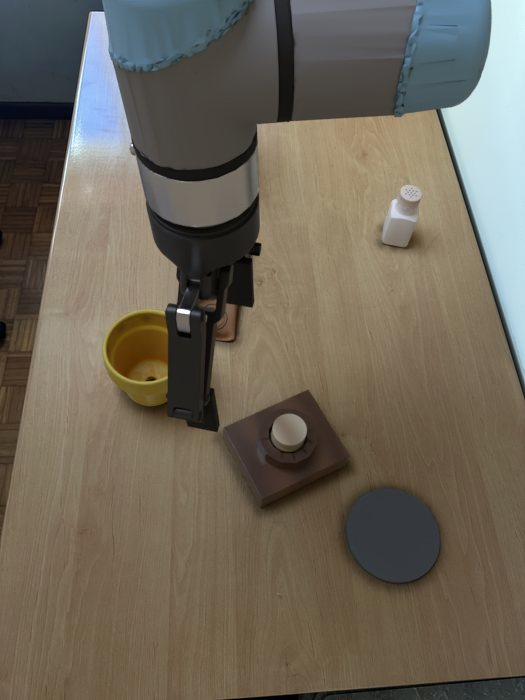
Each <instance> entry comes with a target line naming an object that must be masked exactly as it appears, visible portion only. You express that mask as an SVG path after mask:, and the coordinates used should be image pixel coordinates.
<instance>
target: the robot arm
mask: <svg viewBox="0 0 525 700" xmlns="http://www.w3.org/2000/svg"><path fill="white" fill-rule="evenodd" d="M101 1H102V7H103V13H104V19H105V26H106V31H107V36H108V48H107V49H108V55H109V58H110V61H111V62H112V65H113V69H114V73H115V77H116V81H117V85H118V90H119V93H120V97H121V101H122V106H123V110H124V114H125V118H126V122H127V126H128V131H129V134H130V140H131V142H130V145H129V153H130V154H131V155H132V156H134V157H135V159H136V165H137V168H138V169H137V170H138V173H139V177H140V181H141V186H142V191H143V195H144V198H145V207H146V213H147V218H148V221H149V226H150V229H151V235H152V238H153V239H152V240H153V241H154V243H155V245H156V248H157V249H158V251H159V252H160V253H161V254H162V255H163V256H164V257H165V258H167V260H169V261H170V262H171V263H172V264H173V265H175V267H176V273H175V274H176V275H175V277H176V280H177V282H178V290H177V300H176V303H173V302H172V303H171V302H169V303H168V304H167V305H166V307H165V310H164V312H165V318H166V324H167V331H168V392H167V393H166V398H167V402H166V404H167V407H166V415H167V417H168V418H173V419H178V420H183V421H185V422H186V424H187V427H189V428H194V429H198V430H203V431H209V432H214V433H218V432H219V430H220V426H221V422H220V416H219V410H218V404H217V398H216V392H215V388H214V387H211V383H212V376H213V375H212V373H213V365H214V356H215V348H216V340H215V339H216V330H217V322H219V321H220V320H221V319H222V318H223V317H224V315H225V309H226V303H227V304H233V305H238V307H245V308H251V309H253V307H254V304H255V288H254V285H255V283H254V265H253V258H252V257H248V255H249V256H253V257H260V256H261V253H262V247H263V246H262V242H257V240H258V238H259V234H260V228H261V217H260V216H261V215H260V211H261V210H260V191H259V190H260V186H261V185H260V163H259V142H258V141H259V139H258V125H267V124H268V125H269V124H277V123H290V122H303V121H304V122H305V121H321V120H337V119H338V120H339V119H355V118H373V117H388V116H389V117H392V116H393V118H402V117H403V116H404V115H407V114H414V113H420V112H428V111H435V110H441V109H442V110H443V109H448V108H453V107H457V106H459V105H461V104H463V103H464V102H465V101H466V100H468V99H469V98H470V97H471V96H472V94H473V92H474V91H475V89H476V88H477V87H478V84H479V83H480V81H481V78H482V74H483V71H484V70H485V66H486V63H487V59H488V57H489V56H488V55H489V51H490V45H491V35H492V22H493V20H492V19H493V14H492V13H493V12H492V0H101ZM200 299H201V300H208V301H214V300H216V299H217V300H216V308H210V307H204V306H199V303H200Z"/></svg>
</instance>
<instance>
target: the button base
mask: <svg viewBox="0 0 525 700" xmlns="http://www.w3.org/2000/svg"><path fill="white" fill-rule="evenodd" d="M283 414H294V415H297V416H299V417H300V418H301V419H302V420H303V421H304V422H305V424H306V427H307V434H306V437H305V440H304V443H303V445H302V446H301V447H300V448H299V449H298V450H296V451H294V452H284V451H281V450H279V449H278V448H276V447H275V445H274V444H273V442H272V440H271V432H272V427H273V423H274V421H275V420H276V419H277V418H278V417H279V416H281V415H283ZM221 436H222V440H223V442H224V444H225V445H226V447H227V449H228V451H229V454H230V455H231V457H232V459H233V461H234V462H235V464H236V466H237V468H238V470H239V472H240V474H241V475H242V477H243V479H244V481H245V483H246V485H247V486H248V489H249V490H250V492H251V494H252V497H253V498H254V499H255V501H256V503H257V505H258V507H259V508H263V507H265V506H267V505H269V504H271V503H273V502H276V501H277V500H279V499H281V498H283V497H285V496H287V495H289V494H291V493H293V492H295V491H297V490H299V489H301V488H303V487H305V486H307V485H309V484H311V483H313V482H315V481H316V480H318V479H321V478H323V477H325V476H327V475H330V474H331V473H333V472H335V471H337V470H339V469H341V468H343V467H344V466H346V465H347V463H348V461H349V460H350V457H351V455H350V454H349V452H348V450H347V449H346V447H345V445H344V444H343V442H342V441H341V438H339V436H338V435H337V433H336V431H335V430H334V428H333V426H332V425H331V424H330V422H329V420H328V419H327V417H326V415H325V413H324V412H323V411H322V409H321V407H320V406H319V404H318V402H317V401H316V399H315V397H314V396H313V394H312V393H311V391H310V390H309V389H306V390H304V391H301V392H299V393H298V394H295V395H293V396H291V397H288V398H286V399H284V400H282V401H280V402H278V403H275V404H273V405H271V406H269V407H266V408H264V409H262V410H259V411H257V412H254V413H253V414H250V415H248V416H246V417H243V418H241V419H239V420H237V421H235V422H233V423H230V424H228V425H225V426H224V427H223V428H222V435H221Z"/></svg>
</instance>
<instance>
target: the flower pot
mask: <svg viewBox="0 0 525 700" xmlns="http://www.w3.org/2000/svg"><path fill="white" fill-rule="evenodd" d="M101 354H102V360H103V364H104V368H105V370H106V373H107V375H108V377H109V379H110V380H111V381H112V382H113V384H115V385H116V386H117V387H118V388H119V389H120V390H122V391H124V392H125V393H126V394H127V395H128V397H129V398H130V400H131V401H133V402H135V403H136V404H138V405H141V406H144V407H156V406H161V405H163V404H165V403H167V398H166V393H167V392H168V331H167V324H166V318H165V310H160V309H155V308H154V309H153V308H142V309H137V310H133V311H129V312H128V313H126V314H124V315H122V316H120V317H119V318H117V320H115V321H114V322H113V323H112V324H111V325H110V327H109V328H108V330H107V331H106V333H105V334H104V337H103V340H102V346H101Z"/></svg>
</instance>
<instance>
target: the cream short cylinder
mask: <svg viewBox="0 0 525 700" xmlns="http://www.w3.org/2000/svg"><path fill="white" fill-rule="evenodd" d="M306 434H307V427H306V424H305V422H304V421H303V420H302V419H301V418H300V417H299V416H297V415H294V414H283V415H281V416H279V417H278V418H277V419H276V420H275V421H274V423H273V427H272V432H271V440H272V442H273V444H274V445H275V447H276V448H278V449H279V450H281V451H284V452H294V451H296V450H298V449H299V448H300V447H301V446H302V445H303V443H304V440H305V437H306Z"/></svg>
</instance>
